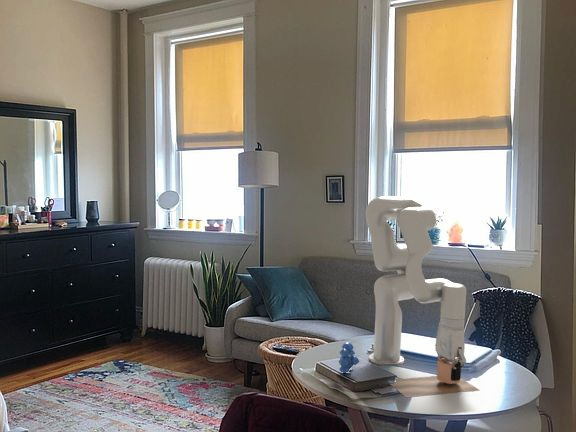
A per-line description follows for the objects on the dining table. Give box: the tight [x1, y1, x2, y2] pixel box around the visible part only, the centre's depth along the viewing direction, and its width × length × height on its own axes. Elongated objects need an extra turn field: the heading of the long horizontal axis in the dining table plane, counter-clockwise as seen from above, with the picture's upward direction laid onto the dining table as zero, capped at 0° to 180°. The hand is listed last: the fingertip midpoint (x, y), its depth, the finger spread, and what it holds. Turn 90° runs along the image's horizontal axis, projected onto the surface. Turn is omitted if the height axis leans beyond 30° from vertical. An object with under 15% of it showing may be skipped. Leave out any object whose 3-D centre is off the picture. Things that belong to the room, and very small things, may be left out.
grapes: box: [338, 342, 360, 373], centre depth 196 cm, size 12×7×12 cm, turn 159°
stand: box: [389, 362, 480, 398], centre depth 187 cm, size 14×26×8 cm, turn 107°
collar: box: [436, 358, 462, 384], centre depth 189 cm, size 7×7×6 cm
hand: (448, 375), depth 189 cm, fingers closed on collar, 7 cm apart
